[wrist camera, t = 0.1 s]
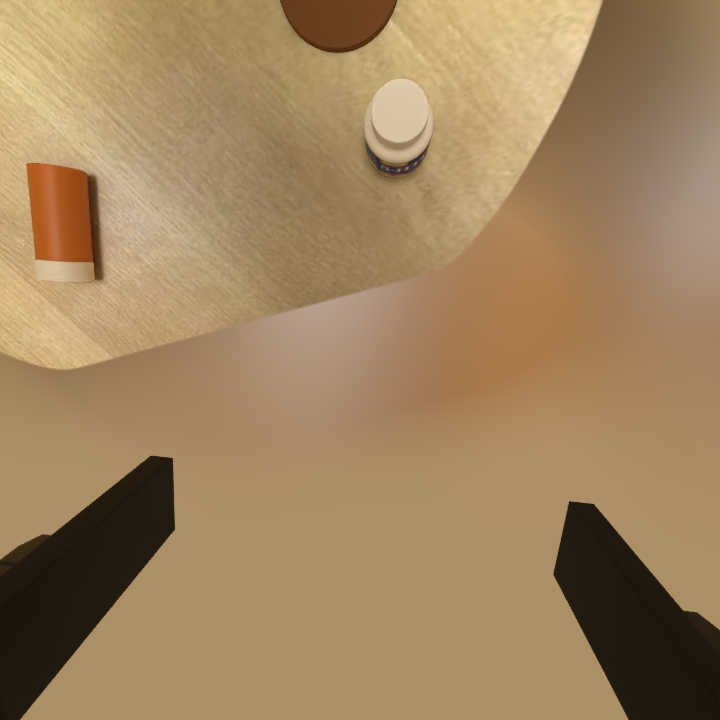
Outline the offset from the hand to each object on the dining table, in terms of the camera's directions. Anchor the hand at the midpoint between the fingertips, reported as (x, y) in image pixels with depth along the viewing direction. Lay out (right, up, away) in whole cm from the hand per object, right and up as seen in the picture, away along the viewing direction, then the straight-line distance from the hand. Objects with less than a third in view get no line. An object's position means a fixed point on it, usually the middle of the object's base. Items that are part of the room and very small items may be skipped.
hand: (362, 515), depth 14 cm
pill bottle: (+3, +24, +23) cm, 34 cm away
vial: (-27, +18, +27) cm, 42 cm away
